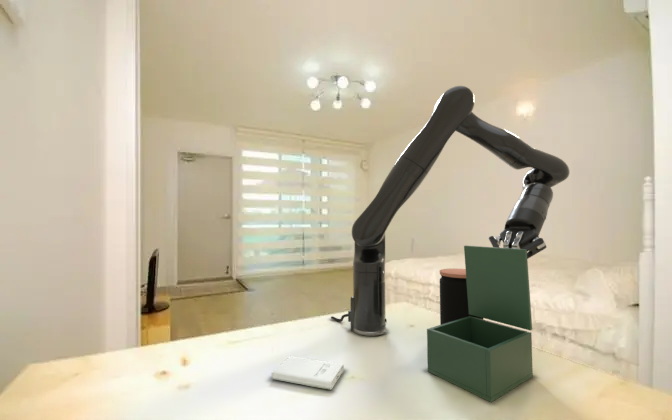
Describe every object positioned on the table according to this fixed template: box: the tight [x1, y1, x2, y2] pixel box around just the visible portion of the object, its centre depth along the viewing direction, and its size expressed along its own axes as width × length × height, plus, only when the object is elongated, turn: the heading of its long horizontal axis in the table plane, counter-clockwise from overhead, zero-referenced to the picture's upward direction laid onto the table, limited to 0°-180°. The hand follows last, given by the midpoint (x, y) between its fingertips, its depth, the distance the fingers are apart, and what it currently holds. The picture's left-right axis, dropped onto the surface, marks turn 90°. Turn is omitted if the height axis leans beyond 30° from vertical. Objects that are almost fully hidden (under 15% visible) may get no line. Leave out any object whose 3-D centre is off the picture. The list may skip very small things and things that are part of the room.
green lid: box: [463, 245, 533, 331], centre depth 68 cm, size 16×14×1 cm
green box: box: [426, 316, 534, 403], centre depth 64 cm, size 16×14×9 cm
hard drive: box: [271, 355, 345, 391], centre depth 63 cm, size 2×8×12 cm
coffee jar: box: [439, 268, 484, 325], centre depth 82 cm, size 11×11×18 cm
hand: (503, 270), depth 70 cm, fingers closed
